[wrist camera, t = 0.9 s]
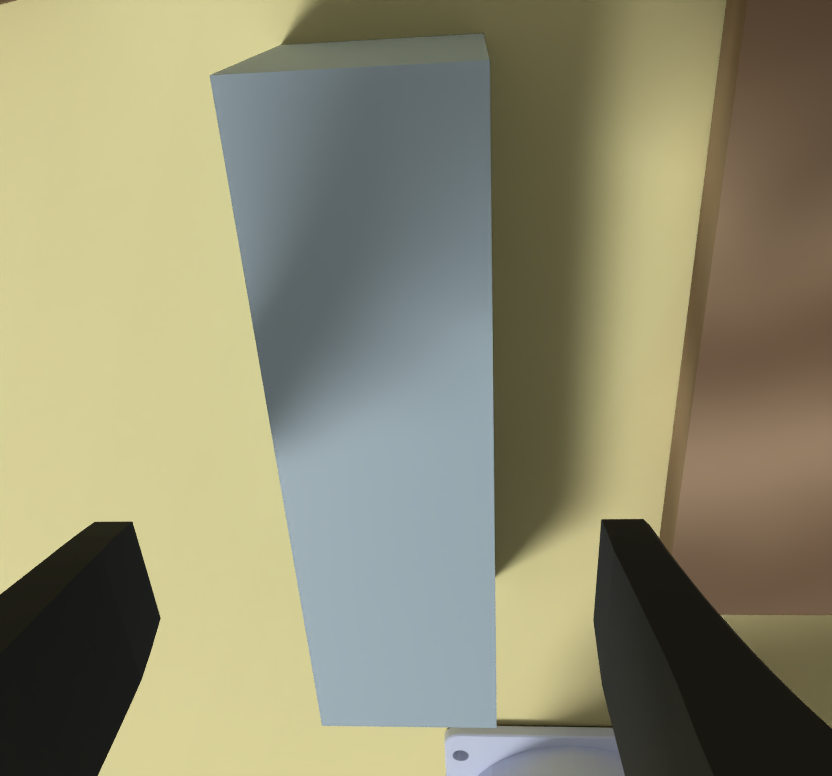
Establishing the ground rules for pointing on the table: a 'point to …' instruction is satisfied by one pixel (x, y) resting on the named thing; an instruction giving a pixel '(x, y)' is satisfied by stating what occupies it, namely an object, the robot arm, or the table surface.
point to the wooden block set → (5, 1)
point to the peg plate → (761, 327)
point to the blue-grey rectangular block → (377, 358)
